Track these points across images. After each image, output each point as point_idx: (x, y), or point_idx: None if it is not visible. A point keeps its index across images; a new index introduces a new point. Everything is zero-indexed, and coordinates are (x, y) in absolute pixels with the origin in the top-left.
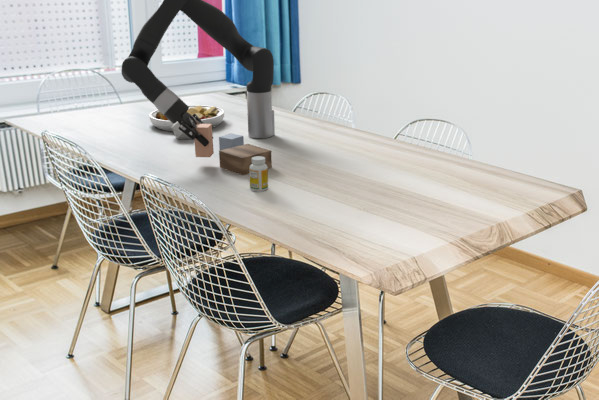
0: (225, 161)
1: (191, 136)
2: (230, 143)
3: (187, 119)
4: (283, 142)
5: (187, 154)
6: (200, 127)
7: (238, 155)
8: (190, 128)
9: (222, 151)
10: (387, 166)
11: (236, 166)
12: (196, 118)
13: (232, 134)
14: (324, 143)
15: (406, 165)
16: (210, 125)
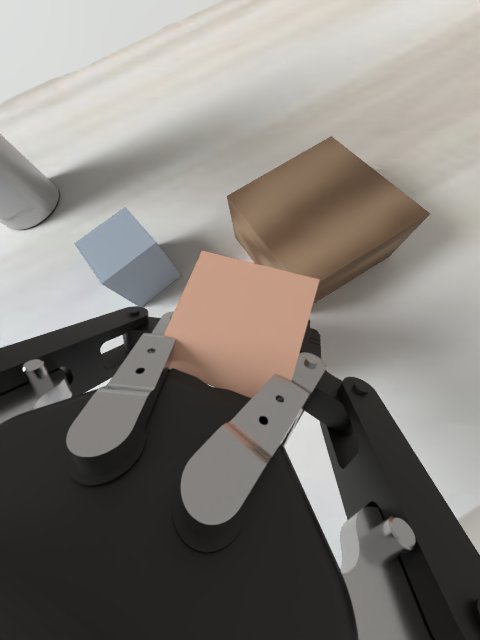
0: (327, 287)
1: (353, 433)
2: (158, 256)
3: (225, 531)
4: (111, 164)
5: None
6: (301, 343)
7: (390, 224)
8: (403, 464)
9: (320, 278)
10: (341, 23)
11: (376, 258)
12: (46, 362)
13: (91, 238)
14: (153, 101)
15: (338, 5)
16: (240, 261)
